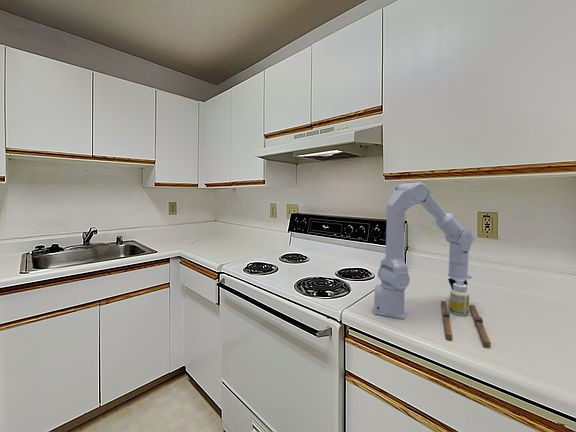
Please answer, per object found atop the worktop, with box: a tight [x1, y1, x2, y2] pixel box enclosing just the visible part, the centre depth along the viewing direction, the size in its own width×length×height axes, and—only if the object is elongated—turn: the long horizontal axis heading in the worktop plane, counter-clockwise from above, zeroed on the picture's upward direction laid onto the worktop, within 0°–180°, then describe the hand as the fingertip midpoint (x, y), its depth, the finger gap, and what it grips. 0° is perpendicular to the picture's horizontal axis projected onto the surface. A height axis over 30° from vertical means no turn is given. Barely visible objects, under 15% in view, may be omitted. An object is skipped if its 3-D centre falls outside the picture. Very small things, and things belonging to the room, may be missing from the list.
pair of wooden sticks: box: [440, 300, 492, 349], centre depth 85 cm, size 10×26×2 cm, turn 154°
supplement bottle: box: [449, 283, 470, 317], centre depth 92 cm, size 5×5×10 cm
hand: (456, 300), depth 98 cm, fingers closed
